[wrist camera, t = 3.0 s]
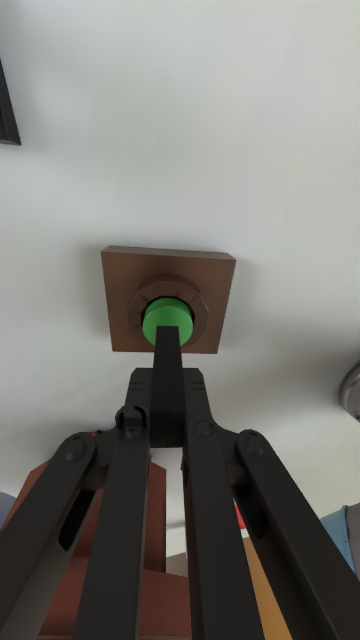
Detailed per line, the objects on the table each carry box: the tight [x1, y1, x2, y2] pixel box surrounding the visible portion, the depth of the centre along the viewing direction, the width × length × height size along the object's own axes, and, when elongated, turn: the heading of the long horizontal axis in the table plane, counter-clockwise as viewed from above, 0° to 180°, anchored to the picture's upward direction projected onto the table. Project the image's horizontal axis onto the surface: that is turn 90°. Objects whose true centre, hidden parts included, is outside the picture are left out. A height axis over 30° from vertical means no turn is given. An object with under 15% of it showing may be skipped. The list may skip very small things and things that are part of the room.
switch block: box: [101, 246, 236, 354], centre depth 19 cm, size 11×10×4 cm
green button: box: [143, 297, 193, 346], centre depth 17 cm, size 4×4×2 cm
